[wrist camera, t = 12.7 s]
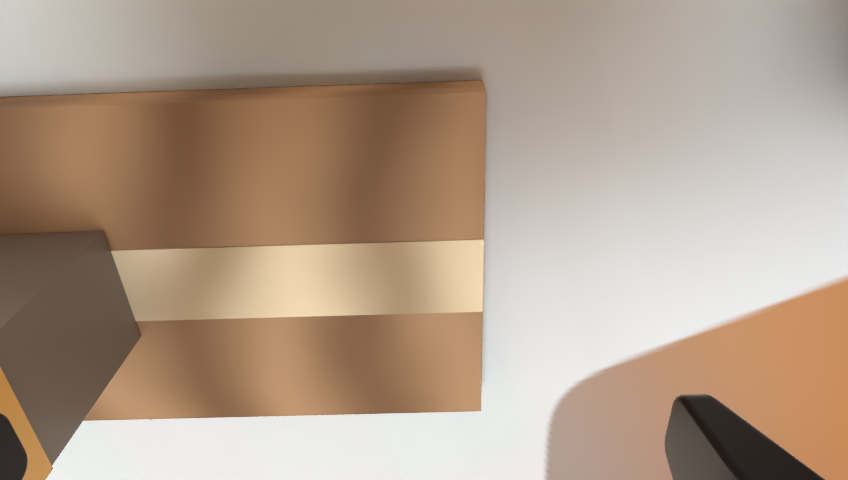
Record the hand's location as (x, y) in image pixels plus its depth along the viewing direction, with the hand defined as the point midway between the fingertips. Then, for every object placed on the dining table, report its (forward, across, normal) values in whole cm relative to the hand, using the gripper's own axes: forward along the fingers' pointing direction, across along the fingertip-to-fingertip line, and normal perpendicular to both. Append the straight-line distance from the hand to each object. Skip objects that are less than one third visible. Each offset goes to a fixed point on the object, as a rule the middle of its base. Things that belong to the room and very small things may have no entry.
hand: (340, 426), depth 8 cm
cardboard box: (+13, +7, +5) cm, 16 cm away
